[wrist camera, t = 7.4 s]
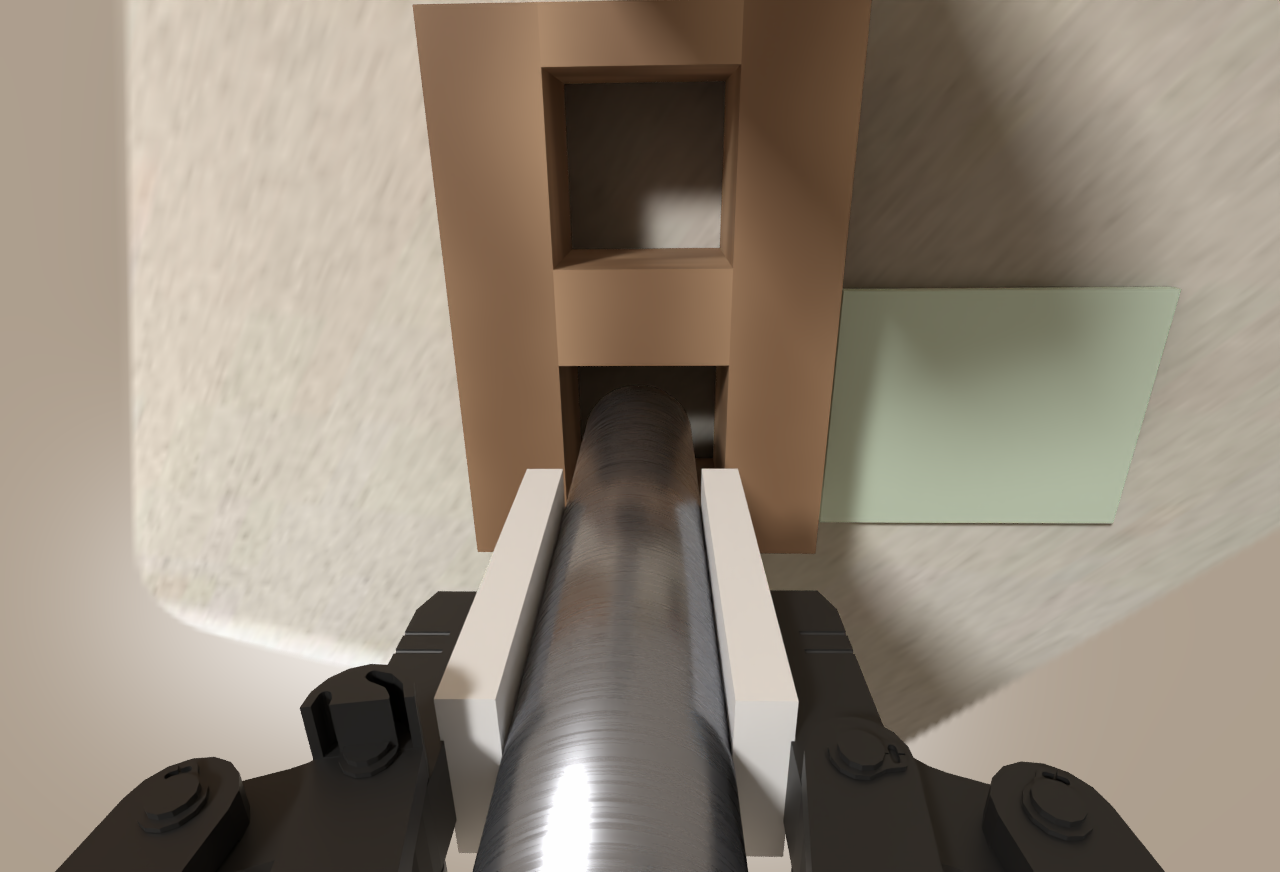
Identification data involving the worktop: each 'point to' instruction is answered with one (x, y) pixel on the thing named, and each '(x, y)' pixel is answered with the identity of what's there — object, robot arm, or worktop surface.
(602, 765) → the pin
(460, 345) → the socket block
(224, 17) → the worktop surface
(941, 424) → the mat
